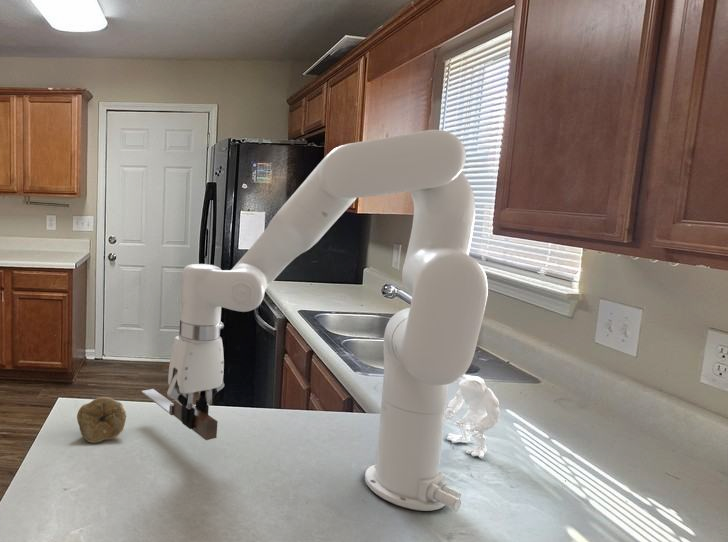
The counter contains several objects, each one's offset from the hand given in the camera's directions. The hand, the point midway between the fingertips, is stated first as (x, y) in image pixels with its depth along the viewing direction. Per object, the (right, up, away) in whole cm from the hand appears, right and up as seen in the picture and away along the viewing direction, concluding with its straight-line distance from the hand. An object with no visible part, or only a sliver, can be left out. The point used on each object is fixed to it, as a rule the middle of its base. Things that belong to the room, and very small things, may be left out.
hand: (194, 423), depth 95 cm
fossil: (-18, -5, +7) cm, 20 cm away
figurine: (+57, -7, +6) cm, 57 cm away
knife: (-3, 0, +5) cm, 6 cm away
